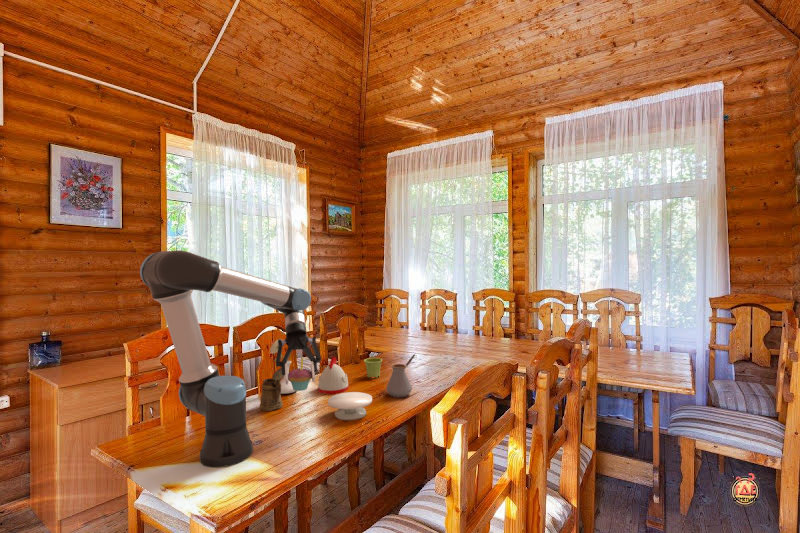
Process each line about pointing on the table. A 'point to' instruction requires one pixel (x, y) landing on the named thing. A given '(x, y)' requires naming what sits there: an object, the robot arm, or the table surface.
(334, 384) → the kitchen timer
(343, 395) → the cake stand
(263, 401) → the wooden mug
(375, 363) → the plant pot
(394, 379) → the coffee pot
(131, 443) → the table surface
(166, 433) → the table surface
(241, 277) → the robot arm
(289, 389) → the flower in vase
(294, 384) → the cupcake
